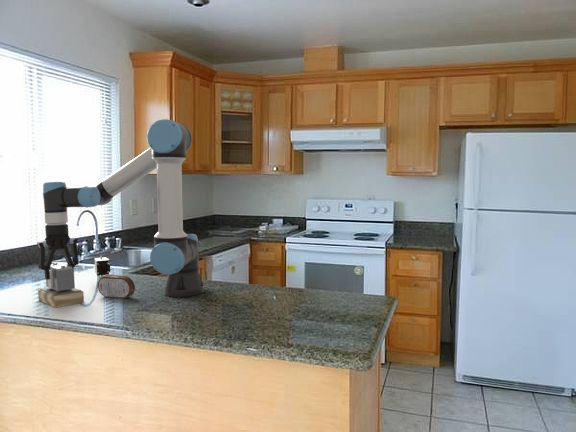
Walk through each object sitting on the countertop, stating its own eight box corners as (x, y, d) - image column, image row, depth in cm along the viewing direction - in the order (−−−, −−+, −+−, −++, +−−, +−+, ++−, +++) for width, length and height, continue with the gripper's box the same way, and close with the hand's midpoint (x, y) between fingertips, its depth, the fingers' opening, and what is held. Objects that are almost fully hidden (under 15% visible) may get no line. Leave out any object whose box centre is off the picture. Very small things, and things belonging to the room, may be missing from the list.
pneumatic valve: (98, 287, 200) (96, 258, 199) (95, 282, 210) (94, 255, 209) (112, 285, 202) (110, 257, 201) (108, 280, 213) (107, 254, 212)
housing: (62, 283, 184) (61, 261, 183) (74, 288, 175) (73, 265, 175) (46, 286, 180) (44, 263, 179) (57, 291, 171) (56, 267, 171)
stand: (83, 301, 176) (83, 290, 176) (55, 307, 169) (54, 295, 169) (66, 295, 187) (65, 284, 187) (38, 300, 180) (38, 288, 180)
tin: (135, 297, 181) (134, 275, 181) (130, 299, 178) (129, 277, 178) (102, 295, 186) (101, 274, 185) (96, 297, 183) (95, 275, 182)
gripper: (78, 221, 185) (81, 280, 187) (24, 225, 171) (28, 289, 173) (86, 222, 180) (90, 283, 182) (32, 226, 166) (36, 292, 168)
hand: (60, 286), depth 178 cm, fingers closed on housing, 6 cm apart
